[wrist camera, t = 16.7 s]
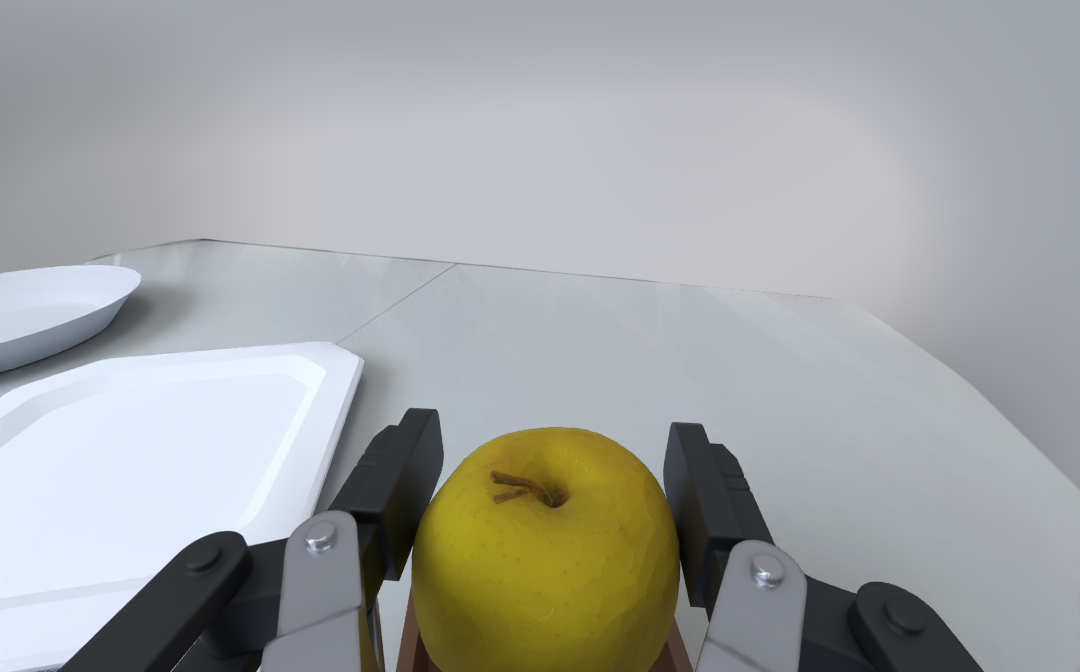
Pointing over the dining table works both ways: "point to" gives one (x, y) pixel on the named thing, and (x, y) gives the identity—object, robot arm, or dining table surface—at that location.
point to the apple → (547, 558)
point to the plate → (152, 476)
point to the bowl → (57, 308)
